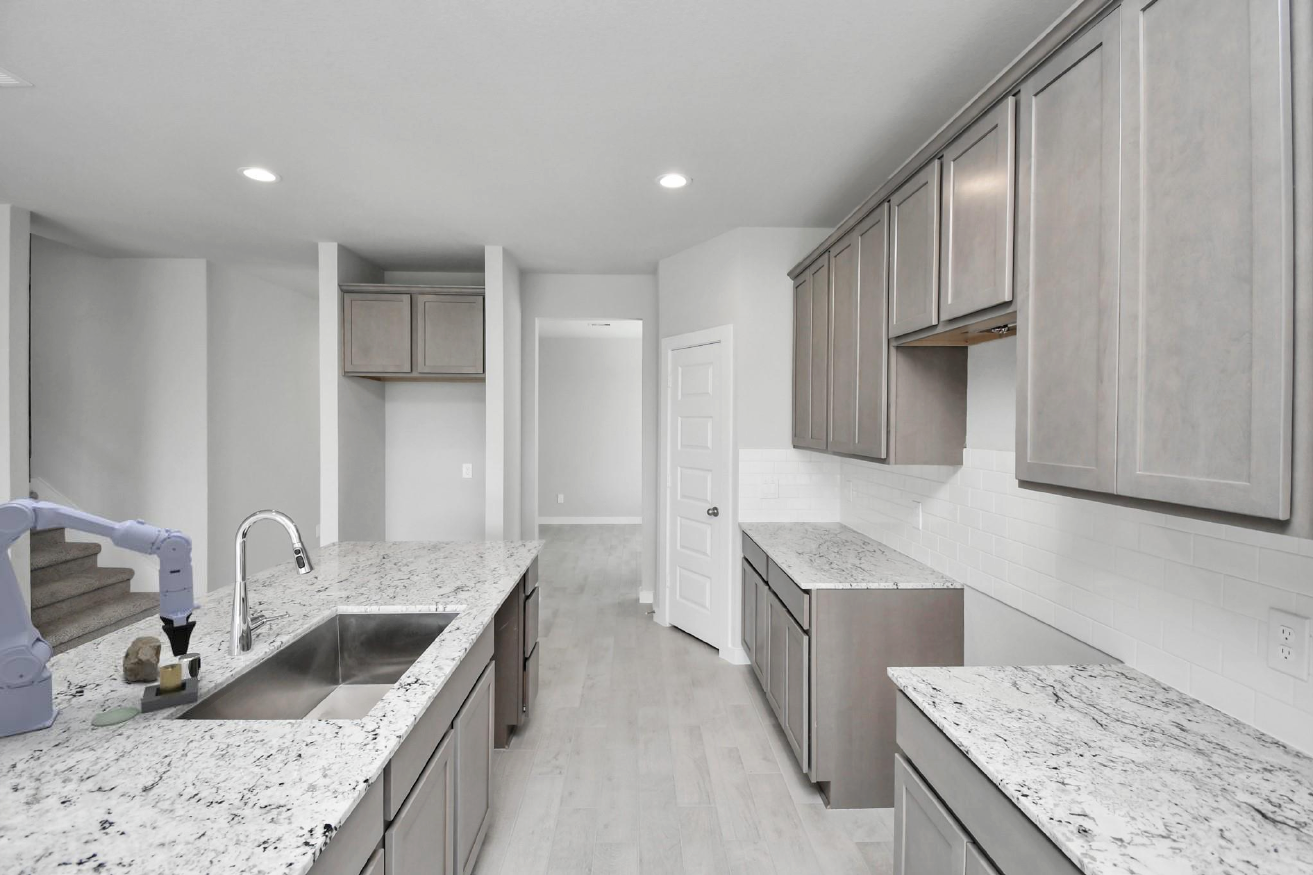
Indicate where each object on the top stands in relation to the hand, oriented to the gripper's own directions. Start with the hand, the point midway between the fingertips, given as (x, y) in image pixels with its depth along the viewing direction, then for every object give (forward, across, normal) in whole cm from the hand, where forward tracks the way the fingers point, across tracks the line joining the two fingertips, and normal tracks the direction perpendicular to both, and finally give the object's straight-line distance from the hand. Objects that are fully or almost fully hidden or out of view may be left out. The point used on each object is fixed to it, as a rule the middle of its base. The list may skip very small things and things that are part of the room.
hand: (178, 650), depth 130 cm
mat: (+9, -5, +10) cm, 15 cm away
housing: (+10, -2, +2) cm, 10 cm away
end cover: (+10, -2, +2) cm, 10 cm away
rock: (+10, +17, +6) cm, 20 cm away
